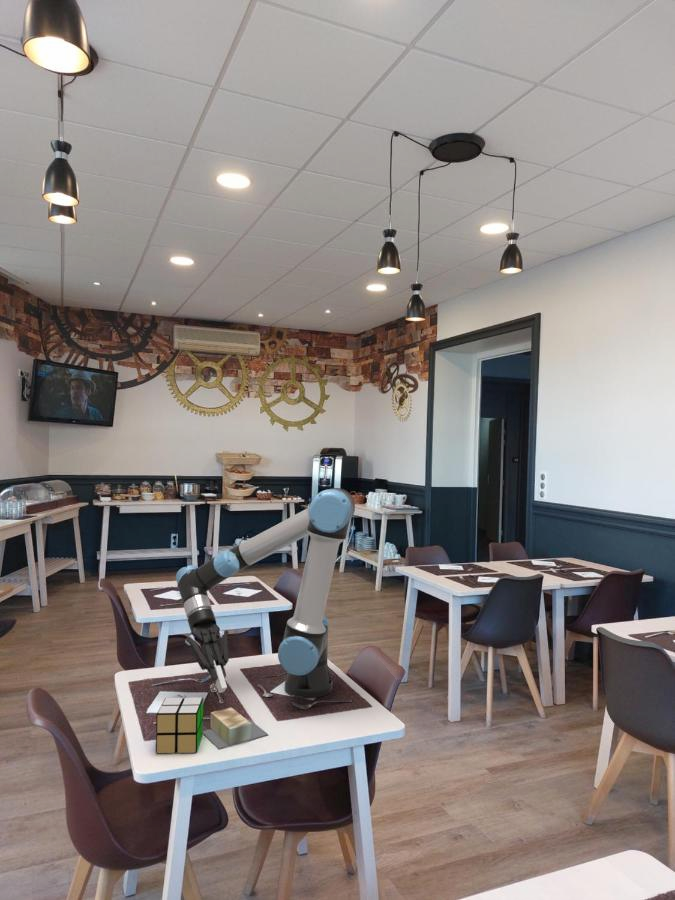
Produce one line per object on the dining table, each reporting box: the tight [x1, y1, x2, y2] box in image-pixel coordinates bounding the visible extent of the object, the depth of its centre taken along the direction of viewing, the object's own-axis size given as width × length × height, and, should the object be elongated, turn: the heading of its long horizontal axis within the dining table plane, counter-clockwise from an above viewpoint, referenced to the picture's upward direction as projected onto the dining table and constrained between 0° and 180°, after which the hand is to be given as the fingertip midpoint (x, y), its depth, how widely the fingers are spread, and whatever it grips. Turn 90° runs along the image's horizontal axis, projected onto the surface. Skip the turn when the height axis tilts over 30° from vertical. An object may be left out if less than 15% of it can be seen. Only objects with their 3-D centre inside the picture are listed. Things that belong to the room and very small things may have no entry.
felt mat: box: [202, 718, 269, 750], centre depth 160 cm, size 14×11×1 cm
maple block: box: [210, 707, 251, 745], centre depth 160 cm, size 6×4×12 cm
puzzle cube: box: [155, 697, 204, 755], centre depth 154 cm, size 10×10×10 cm
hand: (223, 690), depth 164 cm, fingers closed
